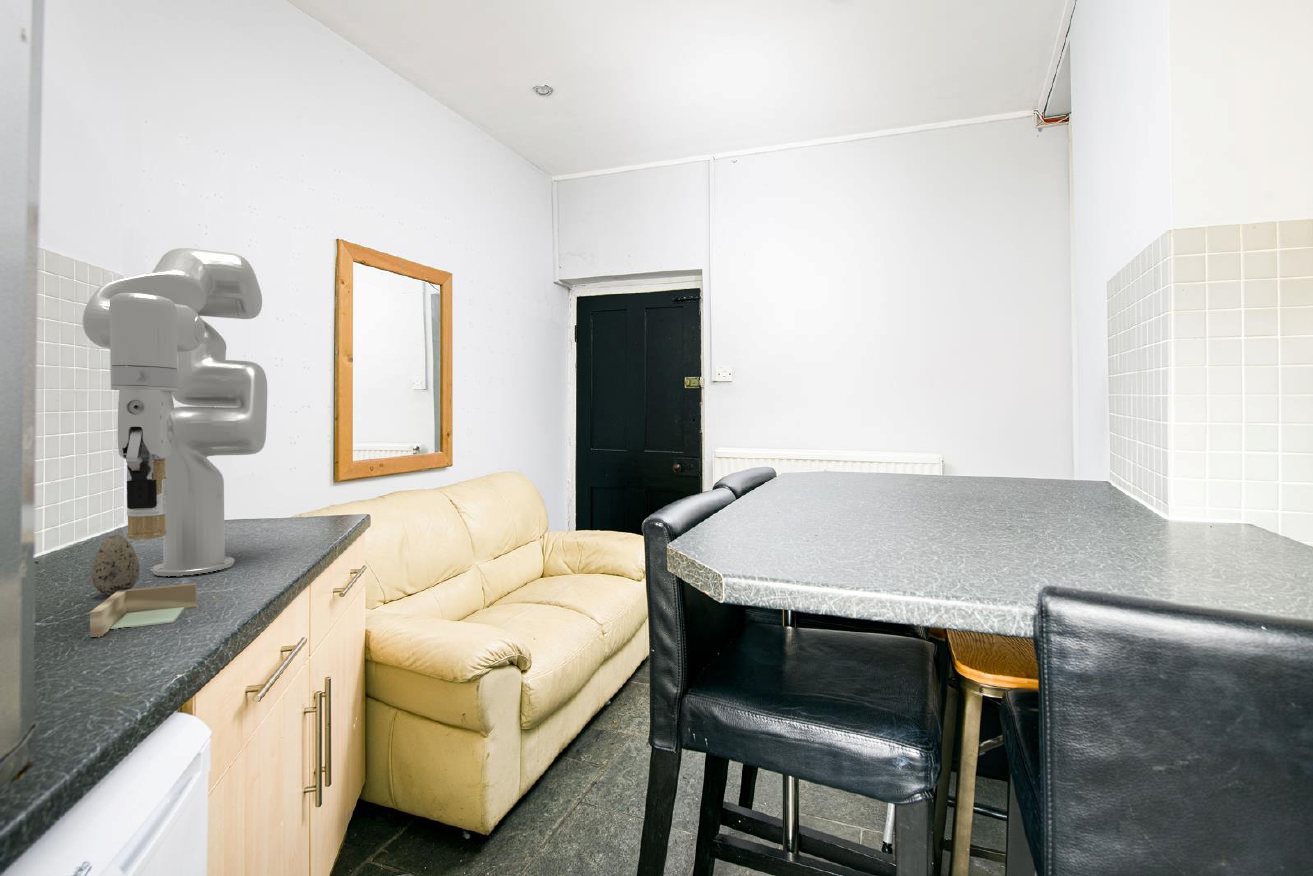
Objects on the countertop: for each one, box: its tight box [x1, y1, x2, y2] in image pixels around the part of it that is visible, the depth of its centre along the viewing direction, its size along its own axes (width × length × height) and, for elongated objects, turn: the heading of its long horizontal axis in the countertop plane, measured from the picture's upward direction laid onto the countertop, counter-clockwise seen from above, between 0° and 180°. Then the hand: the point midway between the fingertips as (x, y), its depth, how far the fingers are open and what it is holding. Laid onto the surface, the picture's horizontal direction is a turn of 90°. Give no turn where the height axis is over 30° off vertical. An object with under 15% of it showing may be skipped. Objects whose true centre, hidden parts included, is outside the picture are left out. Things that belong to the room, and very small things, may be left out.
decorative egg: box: [91, 534, 140, 596], centre depth 101 cm, size 6×6×10 cm
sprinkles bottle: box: [126, 447, 167, 541], centre depth 89 cm, size 5×5×13 cm
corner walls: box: [89, 582, 198, 638], centre depth 89 cm, size 12×10×4 cm
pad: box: [110, 607, 186, 630], centre depth 89 cm, size 7×7×1 cm
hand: (147, 504), depth 89 cm, fingers closed on sprinkles bottle, 4 cm apart
